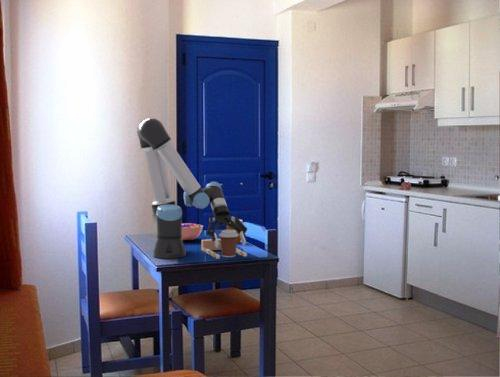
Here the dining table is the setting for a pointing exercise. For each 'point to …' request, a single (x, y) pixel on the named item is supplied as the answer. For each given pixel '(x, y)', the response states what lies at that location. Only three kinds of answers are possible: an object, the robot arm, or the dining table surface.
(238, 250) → the track rails
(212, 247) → the end stop
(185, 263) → the dining table surface
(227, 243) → the coffee cup
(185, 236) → the cell model
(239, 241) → the disposable coffee cup
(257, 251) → the dining table surface
